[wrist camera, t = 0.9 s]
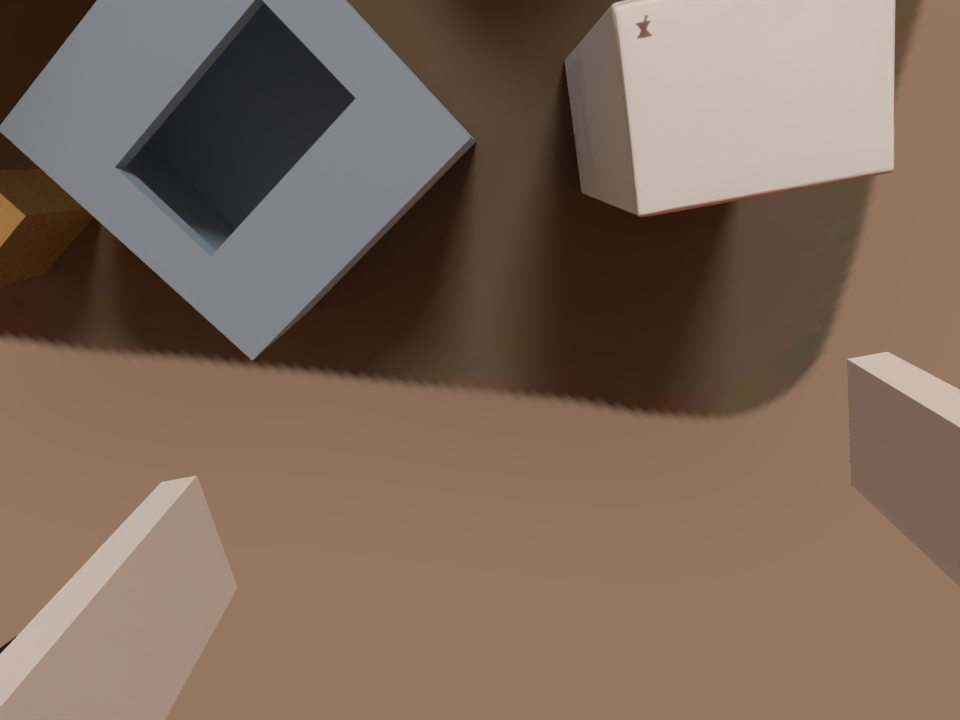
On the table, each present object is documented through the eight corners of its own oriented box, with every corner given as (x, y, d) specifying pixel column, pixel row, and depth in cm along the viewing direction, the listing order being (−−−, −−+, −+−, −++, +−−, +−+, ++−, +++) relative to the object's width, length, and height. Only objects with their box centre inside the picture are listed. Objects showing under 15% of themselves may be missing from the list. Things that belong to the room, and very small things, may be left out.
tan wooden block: (5, 238, 35) (-92, 255, 29) (63, 167, 34) (-26, 170, 28) (45, 274, 35) (-42, 297, 29) (104, 205, 34) (25, 215, 28)
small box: (580, 196, 34) (632, 221, 21) (561, 58, 32) (606, -3, 19) (746, 165, 33) (901, 173, 21) (737, 23, 31) (900, -62, 19)
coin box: (126, 135, 33) (-3, 128, 24) (289, -62, 30) (209, -146, 22) (310, 310, 35) (252, 360, 27) (476, 141, 33) (470, 137, 24)
